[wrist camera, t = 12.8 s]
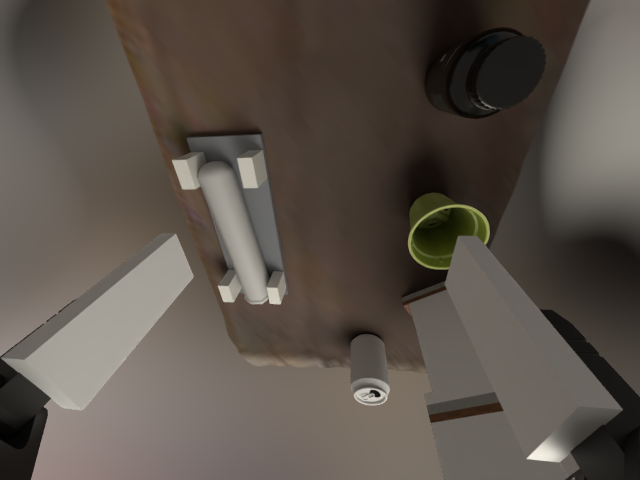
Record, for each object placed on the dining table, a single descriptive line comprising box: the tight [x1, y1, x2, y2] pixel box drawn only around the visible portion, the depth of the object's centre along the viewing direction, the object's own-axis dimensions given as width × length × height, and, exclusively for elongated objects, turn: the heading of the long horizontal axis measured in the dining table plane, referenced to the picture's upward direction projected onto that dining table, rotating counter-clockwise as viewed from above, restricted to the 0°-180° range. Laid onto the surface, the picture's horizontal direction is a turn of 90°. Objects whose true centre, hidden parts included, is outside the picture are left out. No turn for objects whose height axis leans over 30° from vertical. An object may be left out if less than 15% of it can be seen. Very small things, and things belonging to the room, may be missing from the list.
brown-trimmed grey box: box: [402, 281, 568, 480], centre depth 33 cm, size 11×11×35 cm
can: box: [351, 334, 390, 405], centre depth 51 cm, size 8×8×12 cm
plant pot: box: [408, 193, 490, 270], centre depth 34 cm, size 9×9×9 cm
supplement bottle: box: [426, 27, 546, 119], centre depth 24 cm, size 7×7×12 cm
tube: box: [197, 161, 270, 304], centre depth 40 cm, size 5×5×25 cm
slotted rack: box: [172, 134, 289, 304], centre depth 41 cm, size 11×30×6 cm, turn 3°
